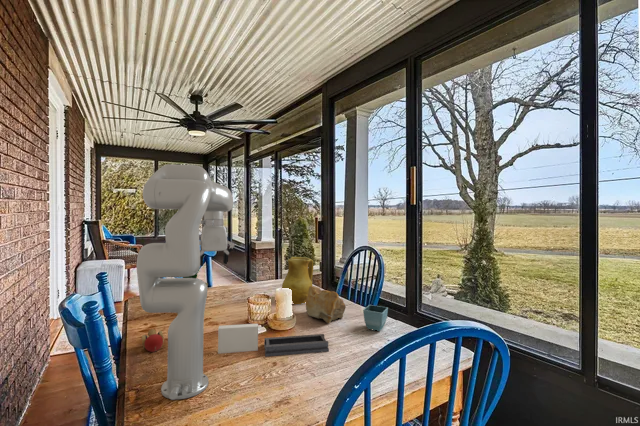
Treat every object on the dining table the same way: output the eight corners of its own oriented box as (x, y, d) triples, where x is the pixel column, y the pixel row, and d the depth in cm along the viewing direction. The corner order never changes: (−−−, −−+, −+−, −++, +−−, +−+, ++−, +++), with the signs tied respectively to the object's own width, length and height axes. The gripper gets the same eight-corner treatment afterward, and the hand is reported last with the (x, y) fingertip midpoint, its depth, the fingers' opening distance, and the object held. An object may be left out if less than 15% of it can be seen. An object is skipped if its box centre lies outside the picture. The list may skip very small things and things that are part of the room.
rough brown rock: (356, 325, 146) (358, 292, 147) (325, 328, 138) (327, 293, 139) (330, 312, 166) (332, 283, 167) (302, 313, 158) (304, 283, 159)
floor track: (328, 351, 116) (328, 343, 116) (265, 356, 111) (265, 348, 111) (322, 340, 126) (322, 332, 126) (264, 344, 121) (264, 336, 121)
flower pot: (362, 330, 137) (362, 309, 137) (369, 323, 145) (369, 304, 145) (382, 334, 133) (382, 313, 133) (387, 327, 141) (388, 307, 141)
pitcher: (278, 297, 184) (281, 254, 183) (309, 297, 189) (312, 255, 189) (283, 307, 168) (287, 260, 167) (317, 306, 173) (320, 261, 172)
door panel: (257, 350, 116) (258, 326, 116) (218, 353, 113) (218, 328, 113) (257, 346, 120) (258, 322, 120) (219, 349, 117) (219, 325, 117)
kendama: (138, 342, 125) (139, 354, 110) (142, 325, 126) (143, 334, 111) (160, 342, 129) (164, 353, 113) (163, 325, 130) (167, 334, 115)
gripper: (193, 224, 124) (192, 267, 124) (237, 223, 133) (236, 264, 133) (190, 223, 130) (189, 264, 130) (232, 222, 139) (231, 261, 139)
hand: (213, 264), depth 132 cm, fingers open, 9 cm apart
